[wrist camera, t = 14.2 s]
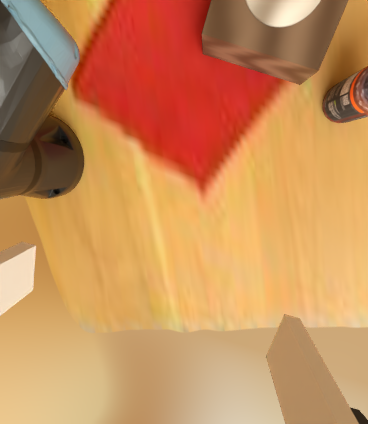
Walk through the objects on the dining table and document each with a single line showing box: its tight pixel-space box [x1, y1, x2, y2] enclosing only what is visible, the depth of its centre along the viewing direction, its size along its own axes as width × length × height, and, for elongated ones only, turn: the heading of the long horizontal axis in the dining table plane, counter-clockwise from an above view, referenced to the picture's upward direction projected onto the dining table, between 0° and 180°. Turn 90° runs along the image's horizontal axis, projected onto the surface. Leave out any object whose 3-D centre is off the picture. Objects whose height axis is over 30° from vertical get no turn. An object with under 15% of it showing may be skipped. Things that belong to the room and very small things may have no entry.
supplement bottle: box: [323, 66, 368, 123], centre depth 29 cm, size 6×6×11 cm
